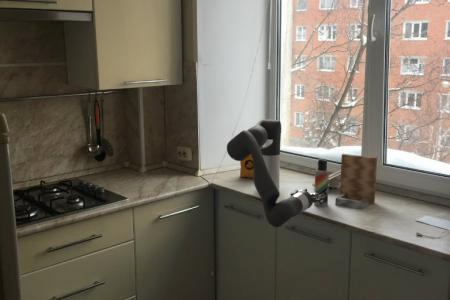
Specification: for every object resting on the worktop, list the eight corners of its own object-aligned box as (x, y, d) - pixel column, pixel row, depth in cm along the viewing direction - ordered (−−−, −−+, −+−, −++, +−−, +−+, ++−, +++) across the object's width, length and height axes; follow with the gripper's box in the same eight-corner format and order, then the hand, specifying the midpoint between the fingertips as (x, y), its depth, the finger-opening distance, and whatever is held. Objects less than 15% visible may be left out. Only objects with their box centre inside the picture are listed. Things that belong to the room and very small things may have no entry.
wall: (325, 201, 244) (351, 180, 243) (313, 187, 245) (338, 166, 243) (323, 197, 261) (347, 177, 259) (312, 183, 261) (335, 164, 260)
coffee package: (259, 180, 267) (260, 137, 263) (237, 178, 272) (237, 135, 268) (266, 176, 276) (267, 134, 271) (245, 173, 281) (245, 133, 277)
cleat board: (331, 204, 227) (333, 158, 223) (341, 197, 237) (343, 153, 233) (365, 209, 219) (368, 162, 215) (374, 202, 229) (377, 157, 225)
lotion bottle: (312, 203, 228) (314, 157, 224) (325, 202, 229) (327, 157, 225) (316, 207, 223) (317, 160, 219) (329, 206, 223) (331, 160, 219)
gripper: (282, 208, 209) (300, 198, 223) (316, 214, 202) (332, 204, 215) (283, 190, 208) (300, 181, 221) (316, 195, 200) (332, 186, 214)
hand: (316, 192), depth 218 cm, fingers open, 8 cm apart
